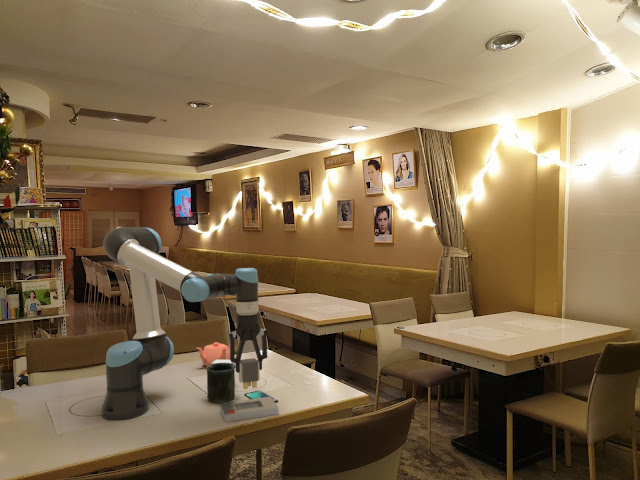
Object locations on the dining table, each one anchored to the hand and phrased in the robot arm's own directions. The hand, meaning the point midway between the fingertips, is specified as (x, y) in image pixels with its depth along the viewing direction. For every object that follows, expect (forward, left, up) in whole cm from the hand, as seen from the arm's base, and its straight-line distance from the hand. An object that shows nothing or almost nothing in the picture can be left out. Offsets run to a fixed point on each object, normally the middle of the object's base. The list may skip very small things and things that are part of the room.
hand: (249, 380), depth 162 cm
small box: (-4, +30, -11) cm, 33 cm away
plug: (0, 0, -2) cm, 2 cm away
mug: (-7, +19, -11) cm, 23 cm away
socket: (0, 0, -11) cm, 11 cm away
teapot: (-2, +60, -11) cm, 61 cm away
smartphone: (+7, +12, -12) cm, 18 cm away
